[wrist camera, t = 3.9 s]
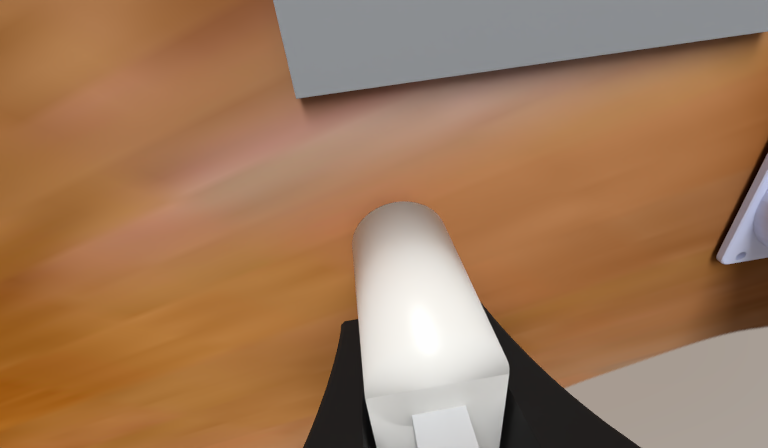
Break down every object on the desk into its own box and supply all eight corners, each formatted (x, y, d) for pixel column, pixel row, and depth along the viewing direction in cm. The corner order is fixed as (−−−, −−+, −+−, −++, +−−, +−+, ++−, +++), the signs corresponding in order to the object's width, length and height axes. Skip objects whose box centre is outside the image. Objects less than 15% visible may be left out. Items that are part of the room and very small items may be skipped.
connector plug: (445, 194, 11) (554, 395, 6) (448, 362, 15) (510, 563, 10) (344, 209, 11) (359, 429, 6) (376, 375, 15) (401, 584, 10)
